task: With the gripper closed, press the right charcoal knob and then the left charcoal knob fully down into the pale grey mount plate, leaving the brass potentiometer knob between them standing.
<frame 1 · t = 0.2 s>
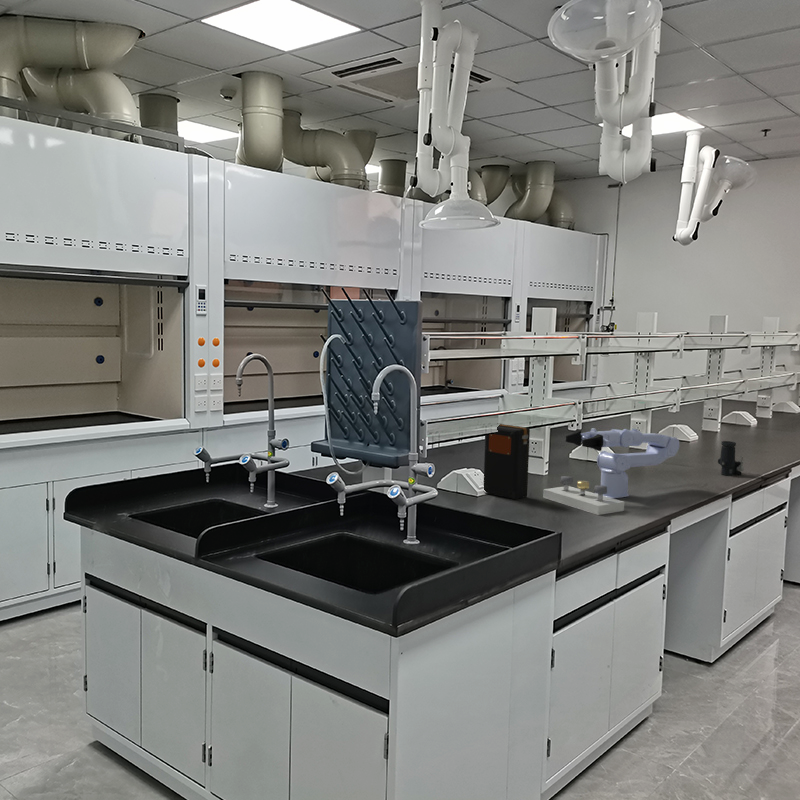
hand: (574, 441, 252), 21 cm above the table, tool horizontal, fingers open, 7 cm apart
knob 1: (566, 484, 258), point 5 cm above the table, slide at 2.5 cm
pot knob: (582, 488, 251), point 5 cm above the table, slide at 2.5 cm
mount plate: (582, 503, 252), on the table
knob 2: (600, 493, 244), point 5 cm above the table, slide at 2.5 cm
scope: (728, 475, 306), on the table
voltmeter: (504, 495, 262), on the table
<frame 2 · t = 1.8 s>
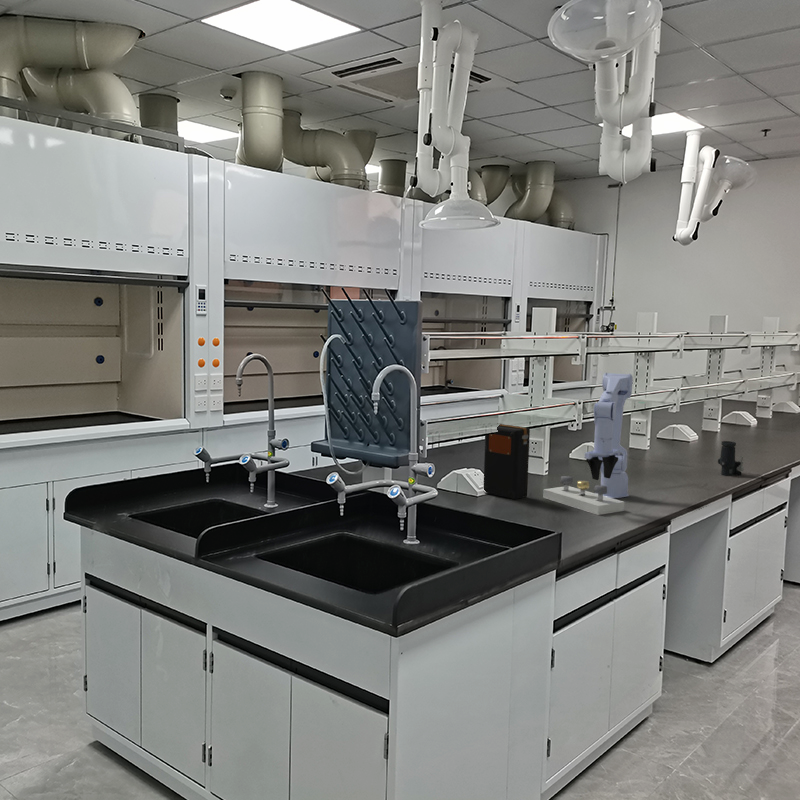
hand: (601, 478, 244), 10 cm above the table, tool pointing down, fingers open, 5 cm apart
nothing on the table moved.
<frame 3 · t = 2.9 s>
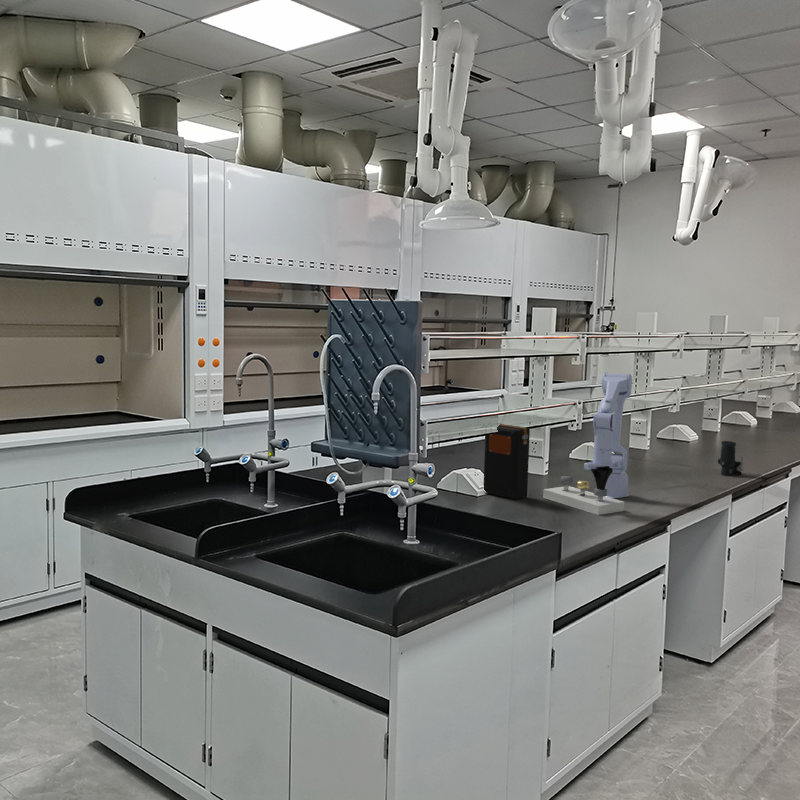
hand: (600, 489, 244), 7 cm above the table, tool pointing down, fingers closed, pressing on knob 2
knob 2: (600, 496, 244), point 4 cm above the table, slide at 1.6 cm, touching gripper
everything else where it was.
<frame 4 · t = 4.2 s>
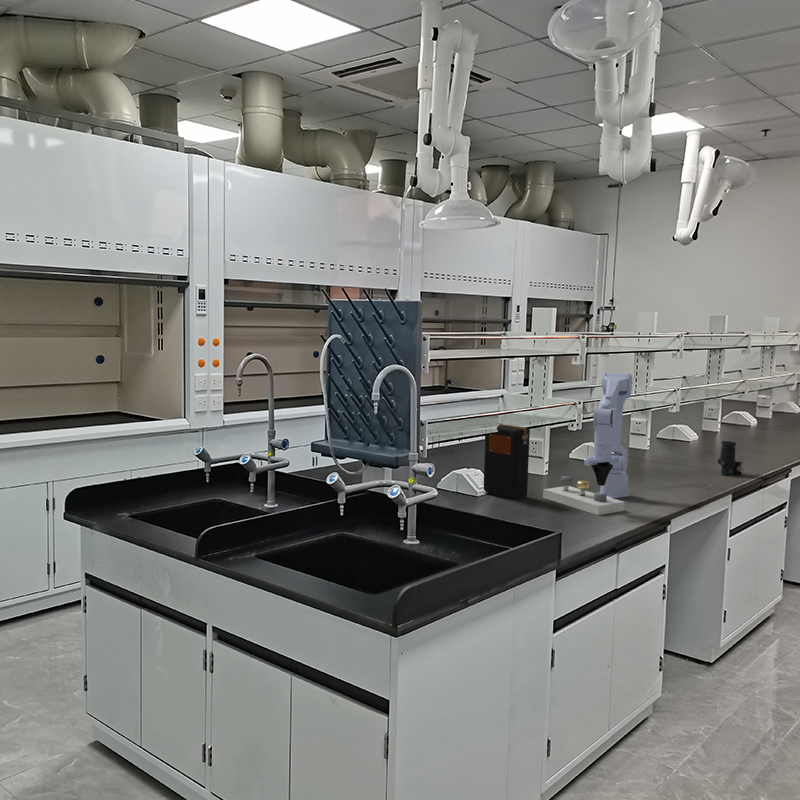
hand: (601, 485, 244), 8 cm above the table, tool pointing down, fingers closed
knob 2: (600, 501, 245), point 3 cm above the table, slide at -0.1 cm
everything else where it was.
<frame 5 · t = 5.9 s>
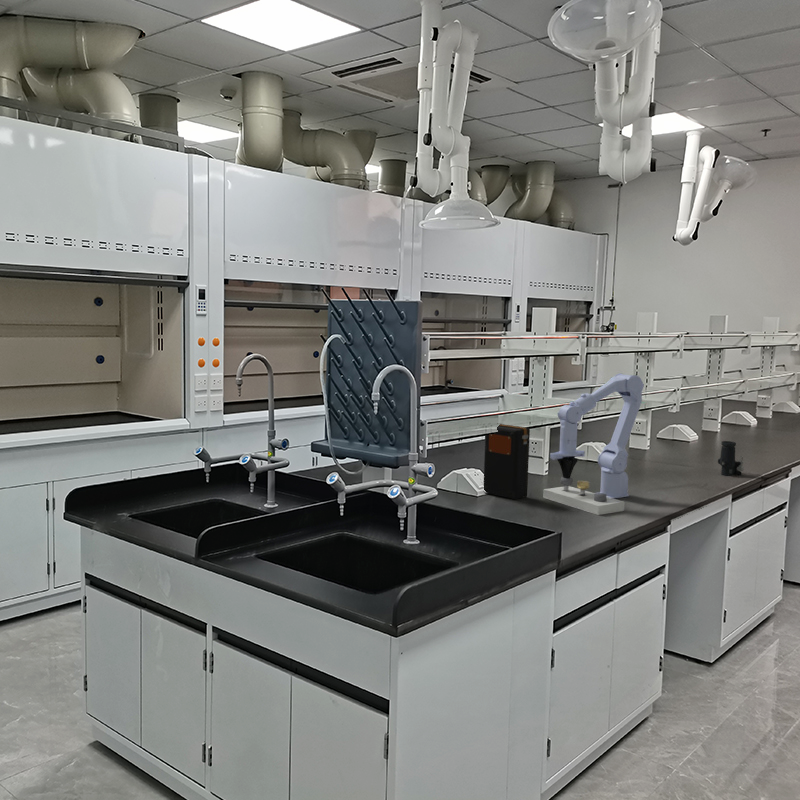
hand: (566, 478, 258), 7 cm above the table, tool pointing down, fingers closed, pressing on knob 1
knob 1: (566, 484, 258), point 5 cm above the table, slide at 2.3 cm, touching gripper
everything else where it was.
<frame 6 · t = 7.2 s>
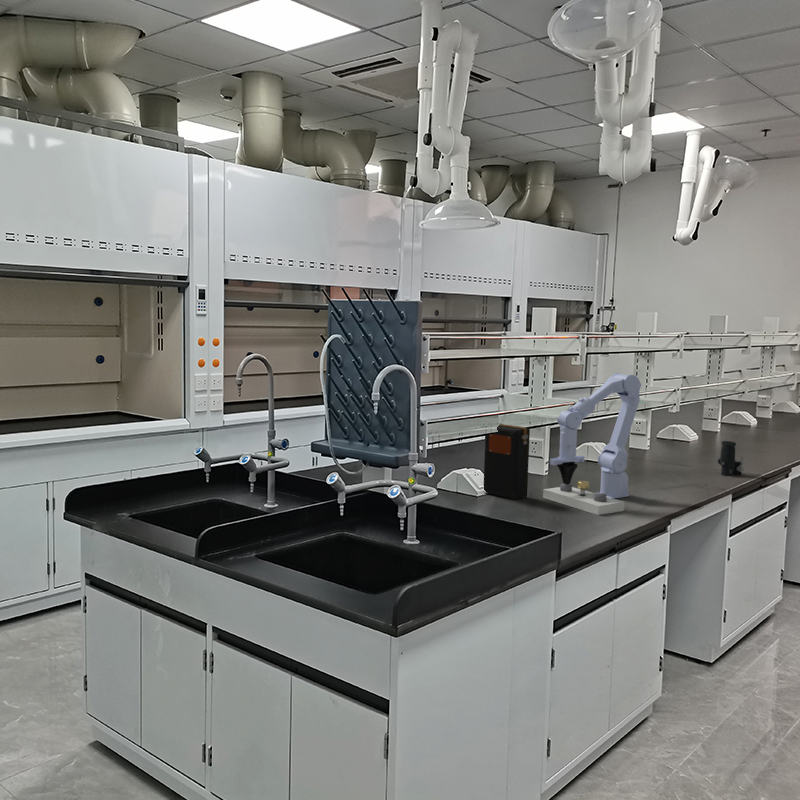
hand: (566, 483, 258), 5 cm above the table, tool pointing down, fingers closed
knob 1: (565, 491, 258), point 3 cm above the table, slide at -0.1 cm
everything else where it was.
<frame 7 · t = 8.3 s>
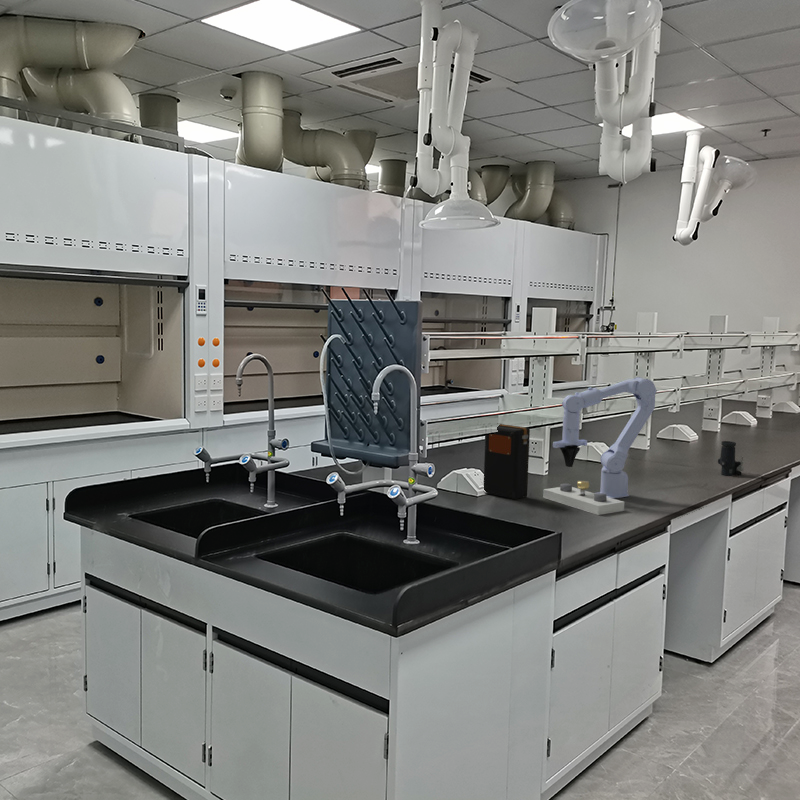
hand: (569, 466, 263), 10 cm above the table, tool pointing down, fingers closed
nothing on the table moved.
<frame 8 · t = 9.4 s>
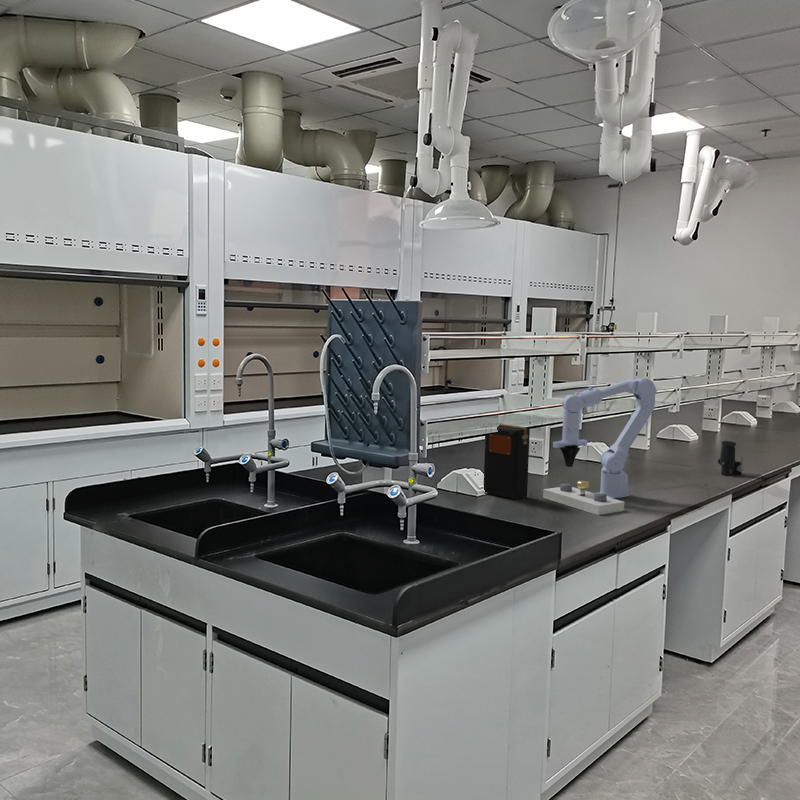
hand: (569, 466, 263), 10 cm above the table, tool pointing down, fingers closed
nothing on the table moved.
at the end: knob 2 slide at -0.1 cm; knob 1 slide at -0.1 cm; pot knob slide at 2.5 cm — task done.
